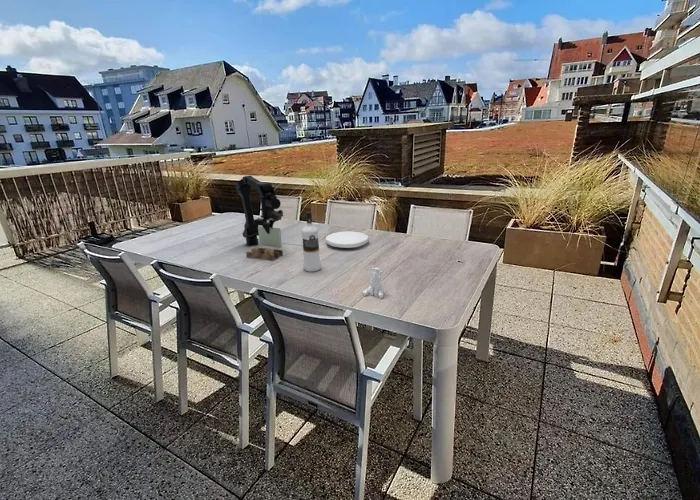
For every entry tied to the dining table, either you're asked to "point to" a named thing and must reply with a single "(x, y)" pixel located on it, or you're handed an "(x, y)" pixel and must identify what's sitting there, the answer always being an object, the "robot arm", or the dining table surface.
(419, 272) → the dining table surface
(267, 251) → the offcut
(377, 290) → the sitting furry creature
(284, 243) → the mat
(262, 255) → the rack
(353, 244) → the plate
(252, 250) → the offcut
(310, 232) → the vodka
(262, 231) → the green rectangular slab
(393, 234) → the dining table surface
